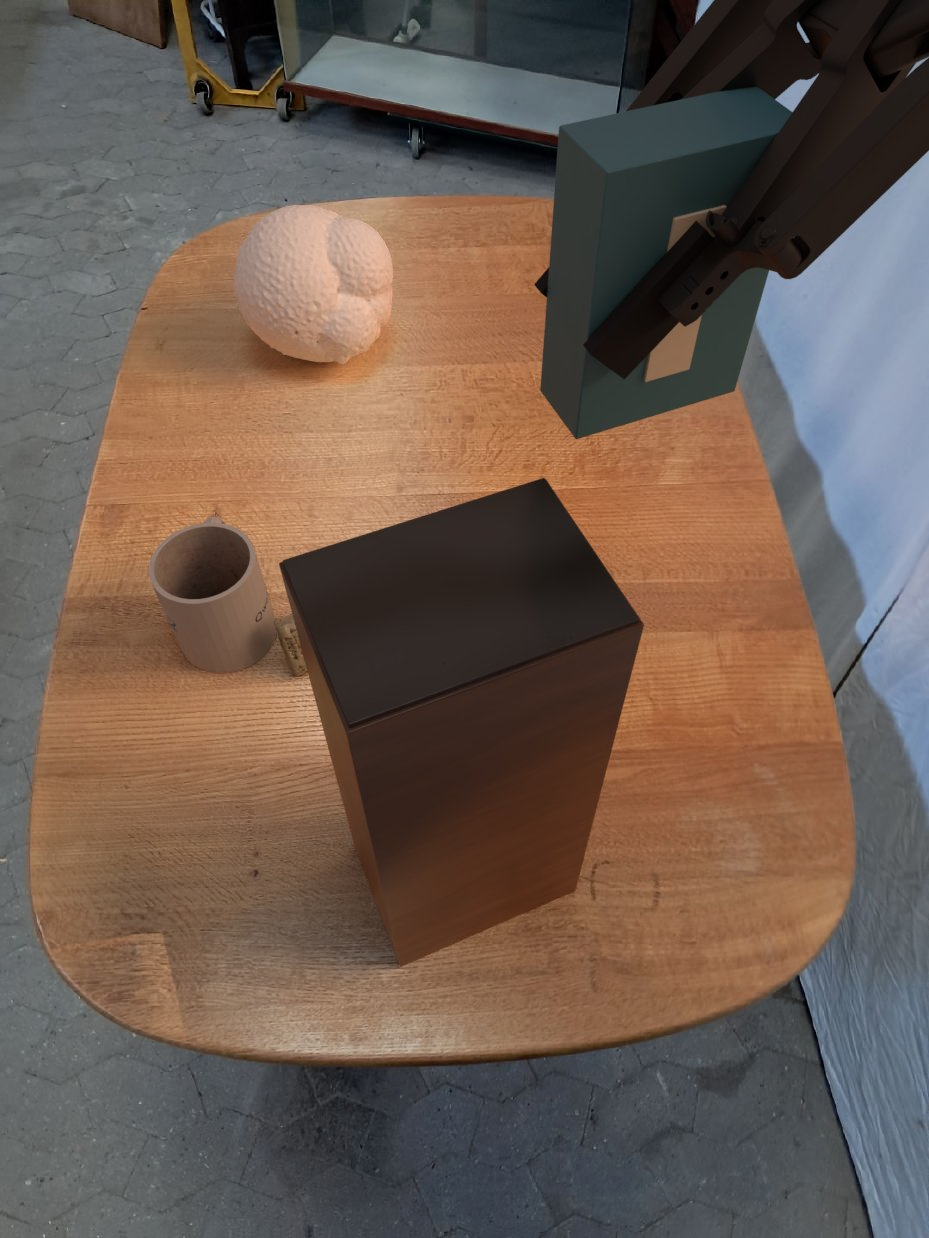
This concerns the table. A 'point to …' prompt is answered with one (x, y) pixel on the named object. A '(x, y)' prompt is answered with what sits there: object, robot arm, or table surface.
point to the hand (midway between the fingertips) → (579, 330)
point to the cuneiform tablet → (290, 644)
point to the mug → (214, 596)
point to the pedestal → (466, 705)
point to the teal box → (647, 250)
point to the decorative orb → (314, 283)
